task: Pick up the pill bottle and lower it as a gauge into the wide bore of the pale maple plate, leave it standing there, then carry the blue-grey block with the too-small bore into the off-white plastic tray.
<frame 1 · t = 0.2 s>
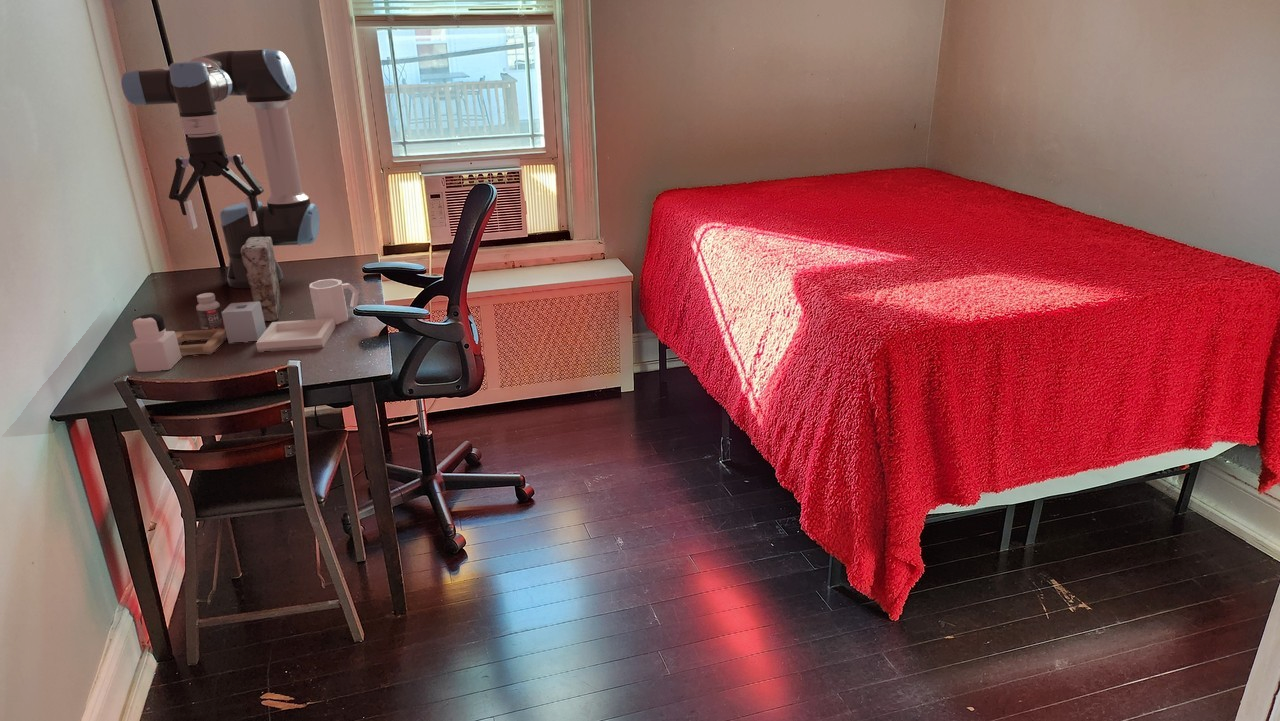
hand: (224, 226, 197), 28 cm above the table, fingers open, 13 cm apart
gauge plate: (195, 346, 203), on the table
tray: (298, 339, 205), on the table
pill bottle: (214, 332, 212), on the table
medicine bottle: (160, 366, 192), on the table
stone block: (271, 314, 223), on the table
blue-grey block: (248, 337, 208), on the table
mug: (339, 318, 219), on the table
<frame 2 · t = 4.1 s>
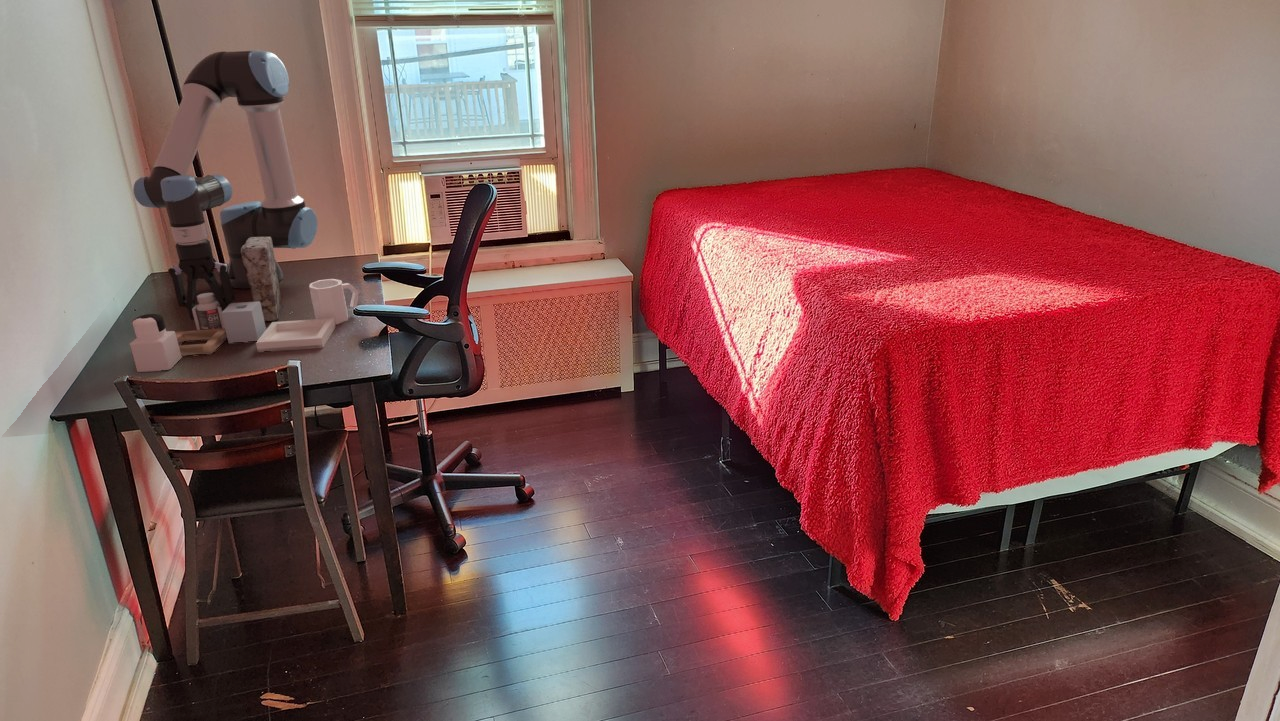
hand: (213, 330, 212), 0 cm above the table, fingers closed on pill bottle, 5 cm apart
pill bottle: (214, 332, 212), on the table, touching gripper
everything else where it was.
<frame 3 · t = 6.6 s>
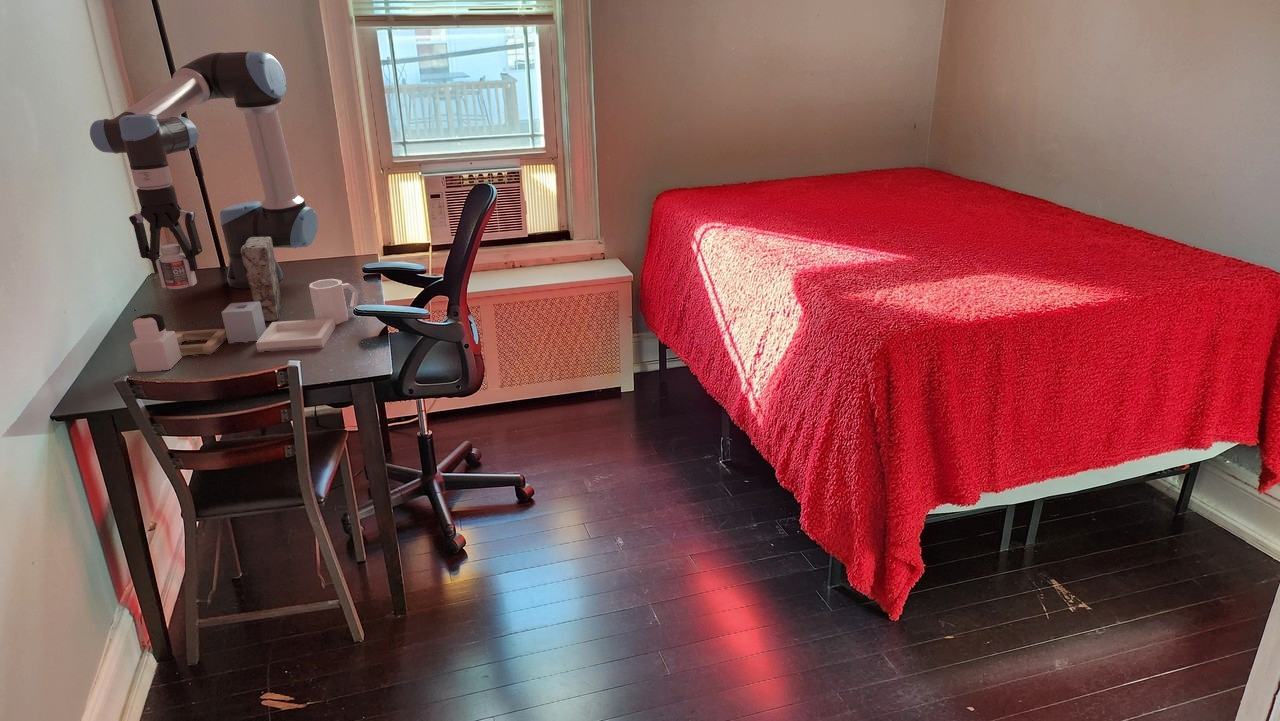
hand: (179, 284, 197), 16 cm above the table, fingers closed on pill bottle, 5 cm apart
pill bottle: (180, 287, 197), point 15 cm above the table, touching gripper
everything else where it was.
when the fingers open (2 cm above the table, at t = 9.2 s): pill bottle drops 2 cm, resting in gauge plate.
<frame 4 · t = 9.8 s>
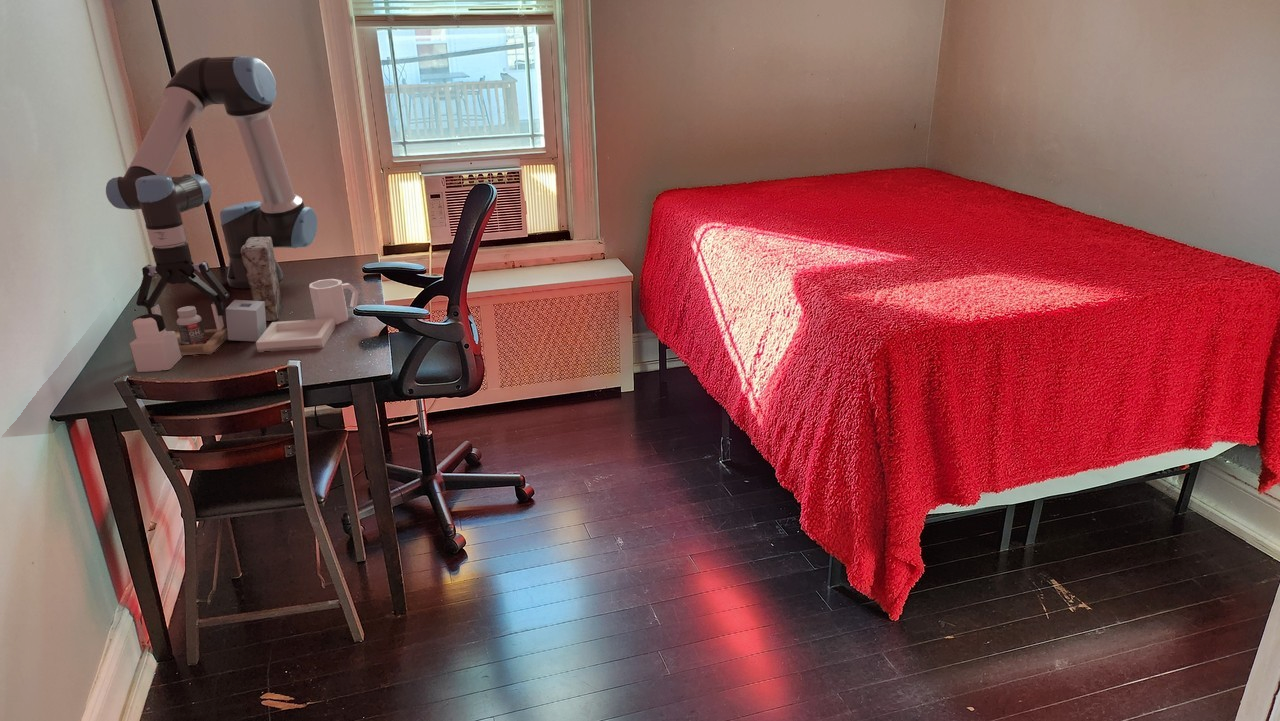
hand: (191, 330, 201), 4 cm above the table, fingers open, 13 cm apart
pill bottle: (196, 347, 203), resting in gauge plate
blue-grey block: (247, 335, 207), on the table, tilted 7°, touching gripper
everything else where it was.
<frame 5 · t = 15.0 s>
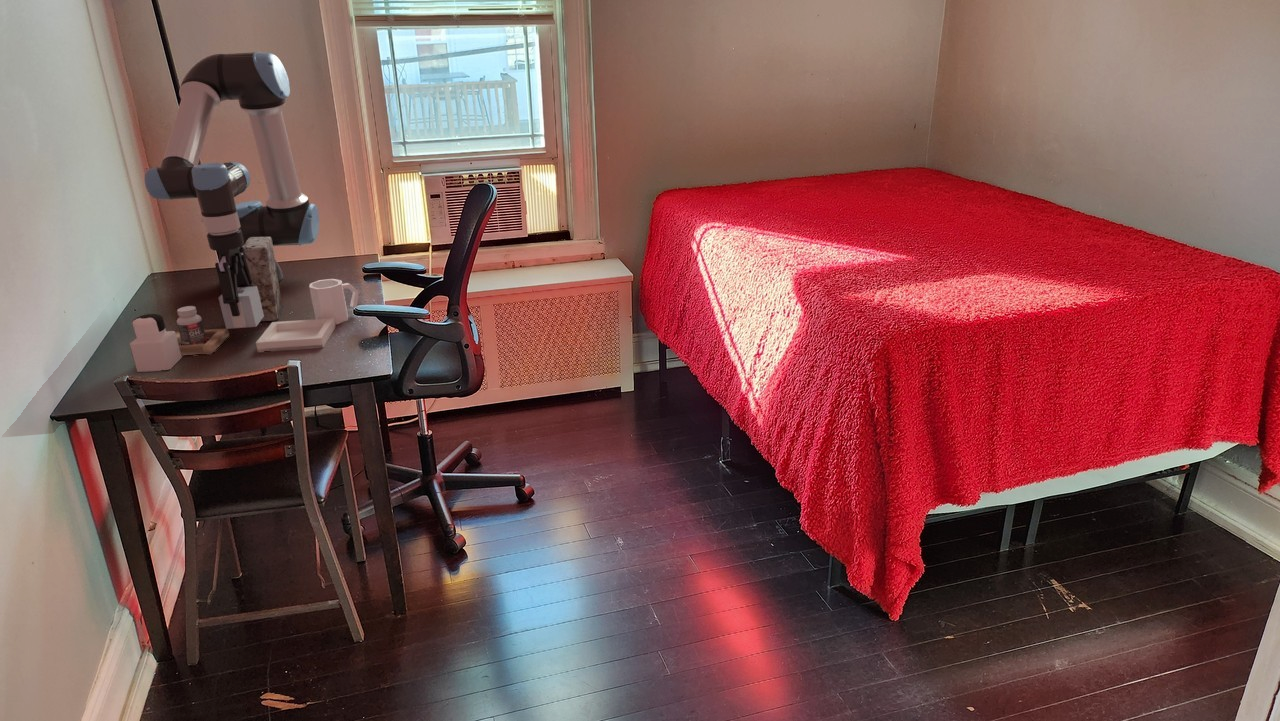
hand: (245, 321, 207), 4 cm above the table, fingers closed on blue-grey block, 7 cm apart
blue-grey block: (245, 322, 207), point 4 cm above the table, touching gripper
everything else where it was.
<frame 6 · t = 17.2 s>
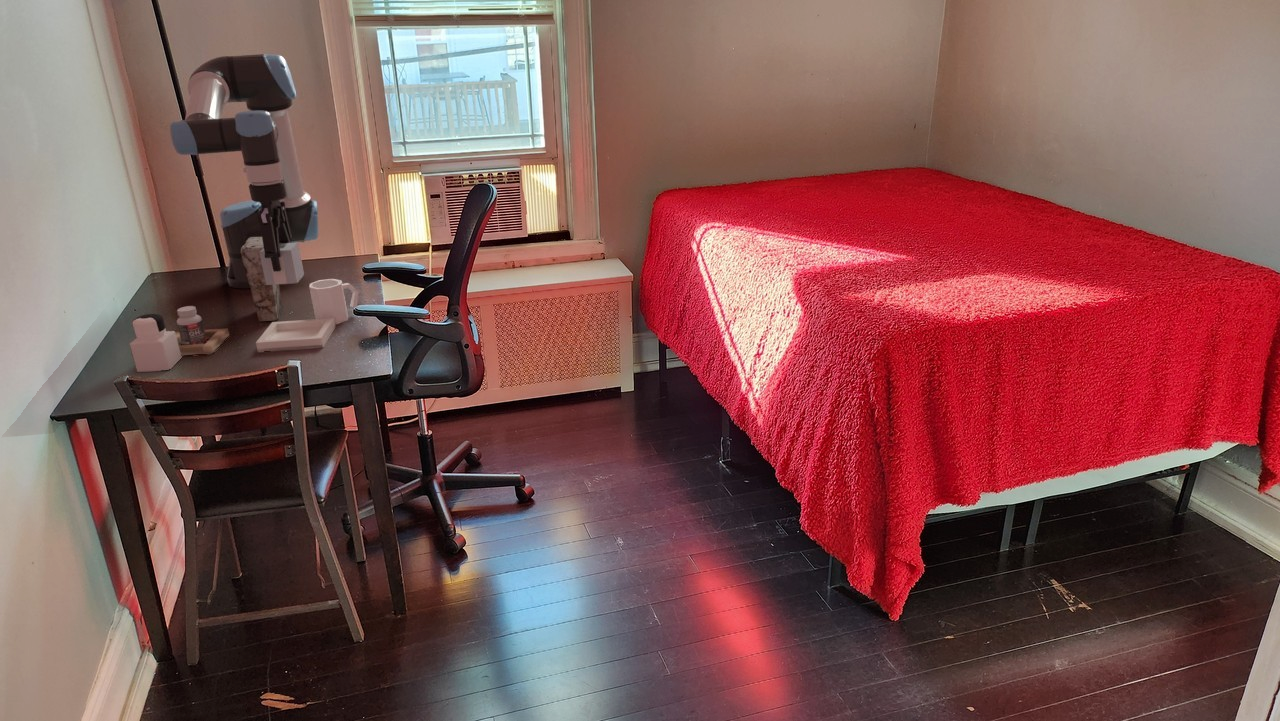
hand: (285, 278, 199), 16 cm above the table, fingers closed on blue-grey block, 7 cm apart
blue-grey block: (285, 279, 199), point 15 cm above the table, touching gripper
everything else where it was.
when the fingers open (3 cm above the table, at t = 19.7 s): blue-grey block drops 2 cm, resting on tray.
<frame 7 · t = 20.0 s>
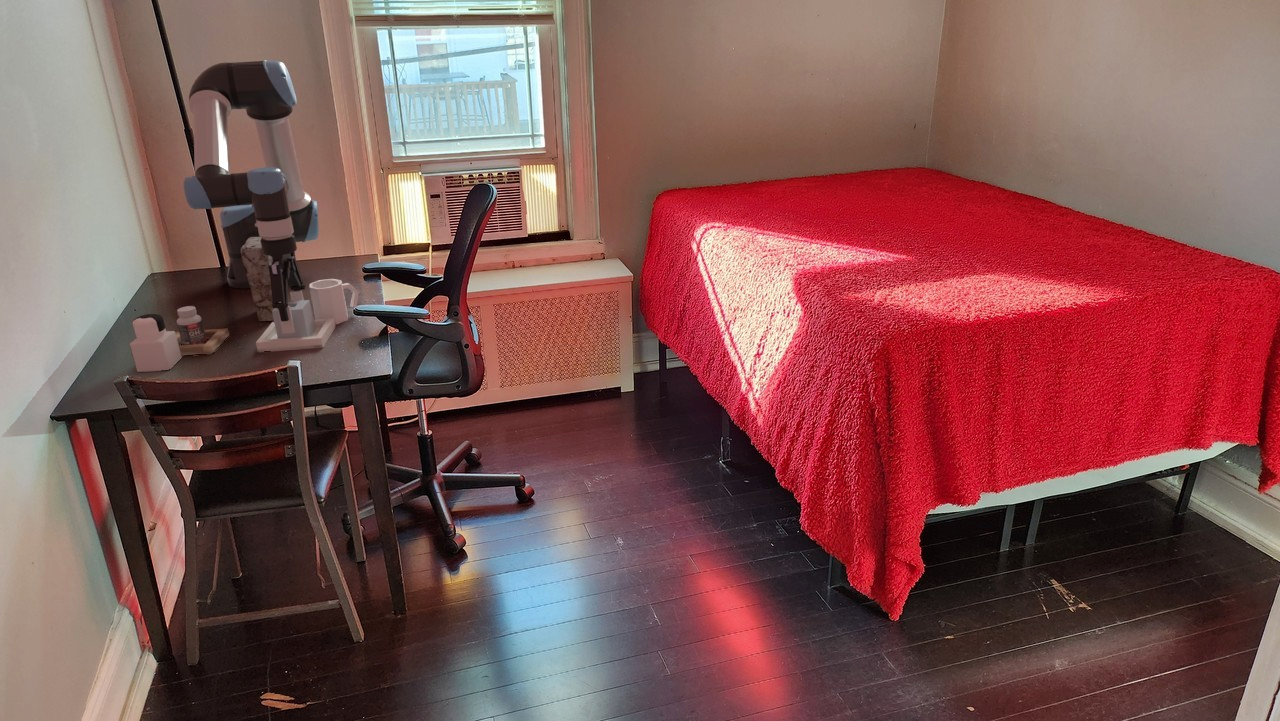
hand: (295, 324, 204), 4 cm above the table, fingers open, 11 cm apart
blue-grey block: (297, 336, 205), point 1 cm above the table, touching tray
everything else where it was.
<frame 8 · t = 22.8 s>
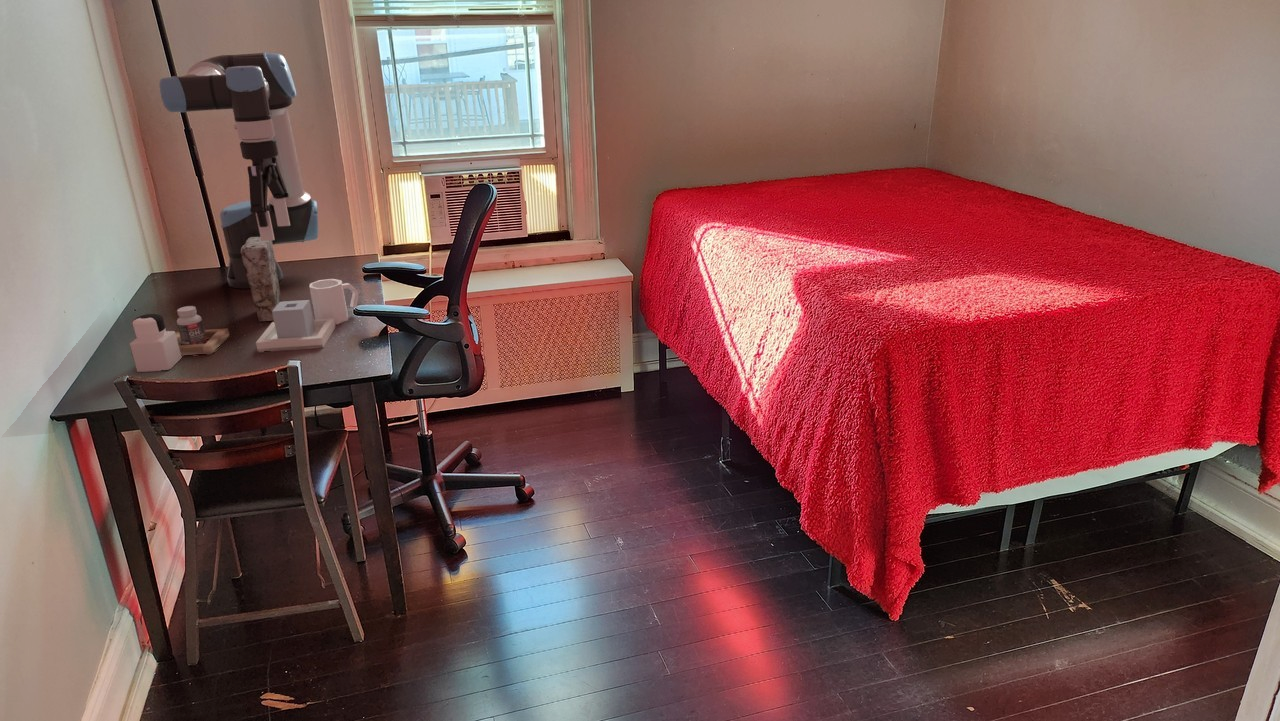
hand: (276, 232, 195), 27 cm above the table, fingers open, 13 cm apart
nothing on the table moved.
at the end: blue-grey block inside the target area on the tray (0.1 cm from its centre), point 0.8 cm above the tray's base; pill bottle 0.0 cm from the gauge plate (horizontally); pill bottle tilted 0° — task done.
